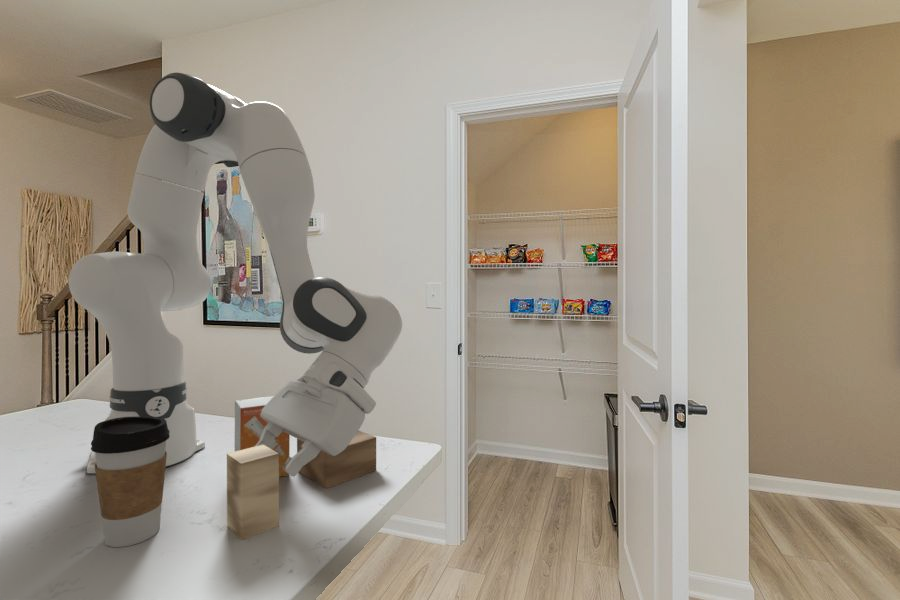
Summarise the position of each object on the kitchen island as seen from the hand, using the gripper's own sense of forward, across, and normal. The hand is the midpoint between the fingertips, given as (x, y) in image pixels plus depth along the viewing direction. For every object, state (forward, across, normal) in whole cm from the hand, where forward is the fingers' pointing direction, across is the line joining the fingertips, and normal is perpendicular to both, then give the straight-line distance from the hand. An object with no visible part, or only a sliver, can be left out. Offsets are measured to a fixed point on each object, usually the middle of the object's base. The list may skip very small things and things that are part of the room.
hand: (271, 463), depth 62 cm
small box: (+2, -16, +10) cm, 19 cm away
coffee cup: (+16, -9, -5) cm, 19 cm away
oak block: (+7, 0, +4) cm, 8 cm away
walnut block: (-5, -8, +16) cm, 19 cm away
